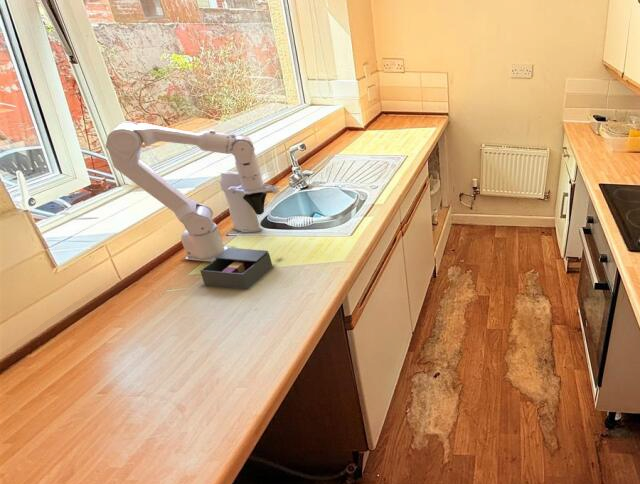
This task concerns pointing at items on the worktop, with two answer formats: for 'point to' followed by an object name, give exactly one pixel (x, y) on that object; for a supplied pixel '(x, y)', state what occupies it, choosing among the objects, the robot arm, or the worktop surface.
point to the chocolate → (238, 267)
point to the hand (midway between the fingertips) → (260, 213)
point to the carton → (235, 280)
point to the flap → (241, 254)
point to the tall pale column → (238, 204)
